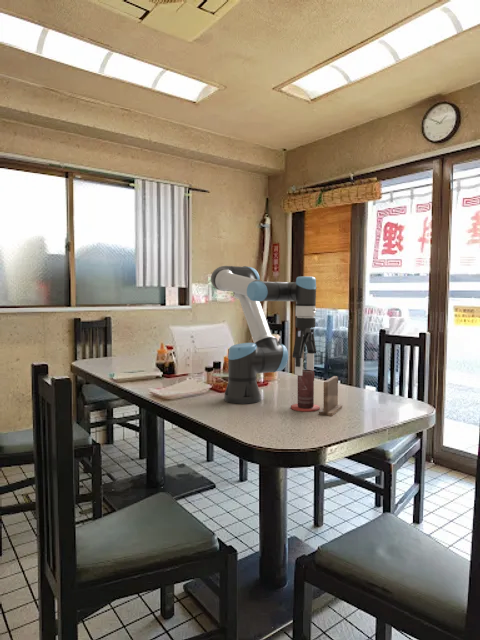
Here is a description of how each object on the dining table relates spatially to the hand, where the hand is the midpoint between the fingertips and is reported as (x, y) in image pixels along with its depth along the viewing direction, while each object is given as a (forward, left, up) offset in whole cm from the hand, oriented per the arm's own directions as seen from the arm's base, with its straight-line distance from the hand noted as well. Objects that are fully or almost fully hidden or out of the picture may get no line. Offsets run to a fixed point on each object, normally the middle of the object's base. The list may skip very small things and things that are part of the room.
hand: (304, 372), depth 171 cm
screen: (+10, 0, -14) cm, 17 cm away
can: (+1, -1, -13) cm, 13 cm away
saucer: (0, 0, -14) cm, 14 cm away
